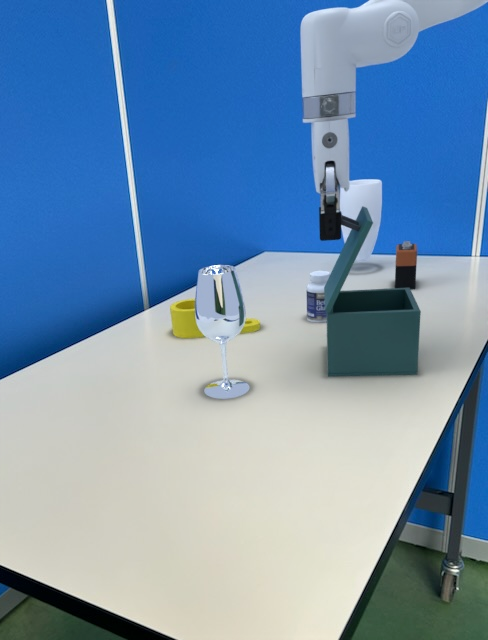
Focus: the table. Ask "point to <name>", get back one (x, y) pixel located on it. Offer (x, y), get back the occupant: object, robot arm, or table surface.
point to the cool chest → (373, 333)
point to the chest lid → (347, 255)
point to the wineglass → (220, 319)
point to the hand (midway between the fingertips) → (330, 234)
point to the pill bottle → (317, 296)
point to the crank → (186, 320)
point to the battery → (406, 265)
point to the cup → (351, 204)
